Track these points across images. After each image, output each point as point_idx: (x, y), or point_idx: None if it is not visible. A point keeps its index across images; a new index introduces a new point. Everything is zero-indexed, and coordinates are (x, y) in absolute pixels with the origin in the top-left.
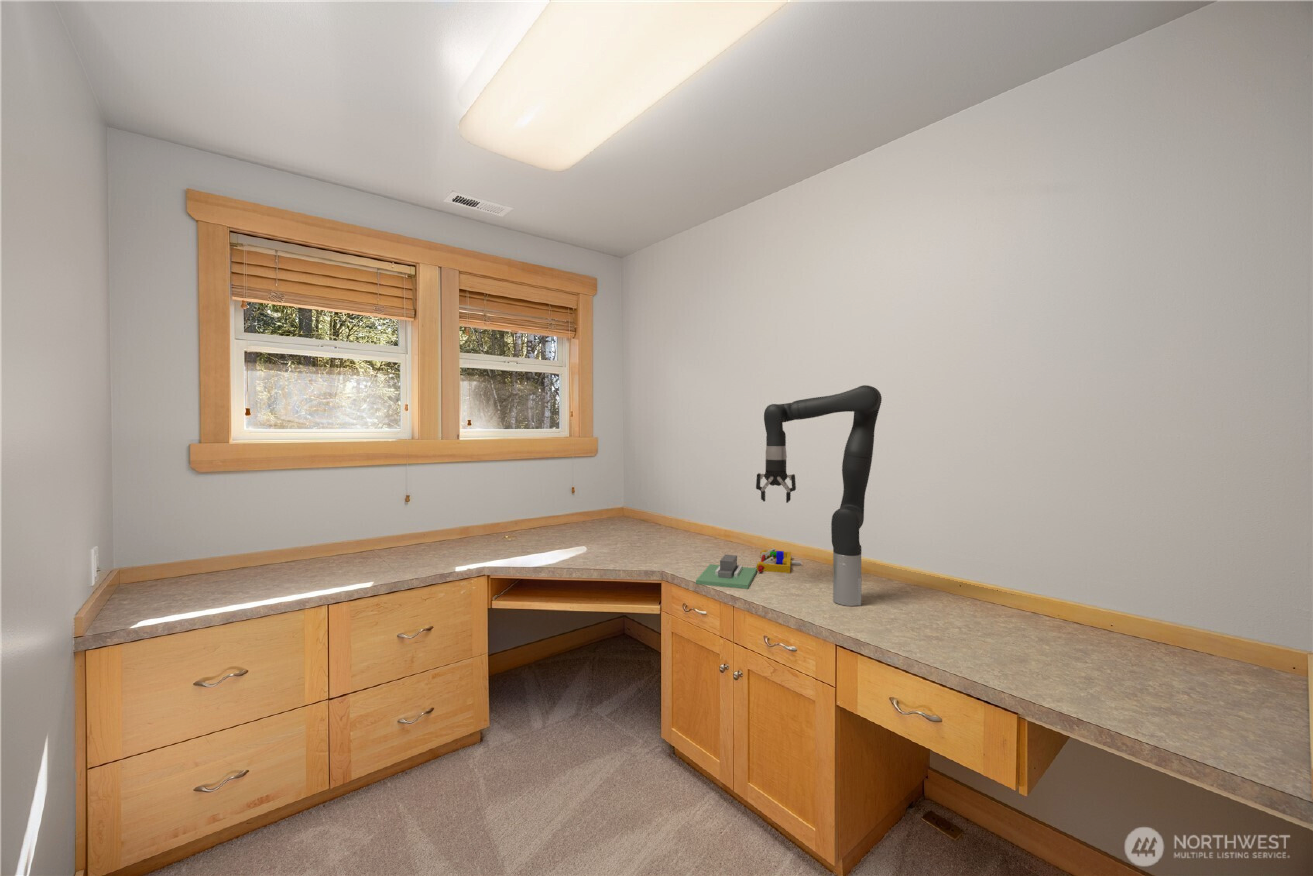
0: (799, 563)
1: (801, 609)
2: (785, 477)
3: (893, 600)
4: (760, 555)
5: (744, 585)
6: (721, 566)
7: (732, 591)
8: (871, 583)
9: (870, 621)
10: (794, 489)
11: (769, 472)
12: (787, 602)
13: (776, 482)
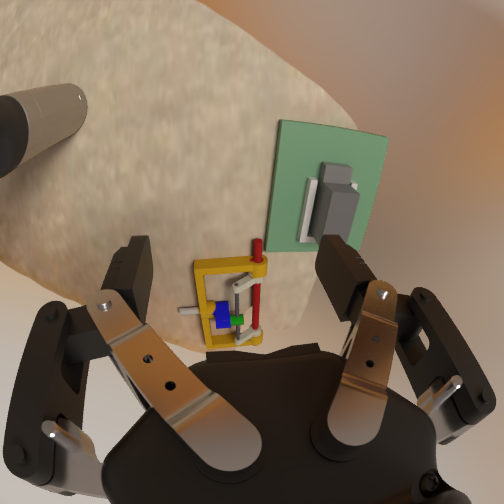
0: (182, 308)
1: (150, 23)
2: (120, 462)
3: None
4: (261, 330)
5: (289, 121)
6: (350, 187)
7: (312, 97)
8: (46, 244)
9: (34, 29)
10: (44, 312)
11: (399, 489)
12: (182, 53)
13: (258, 386)
